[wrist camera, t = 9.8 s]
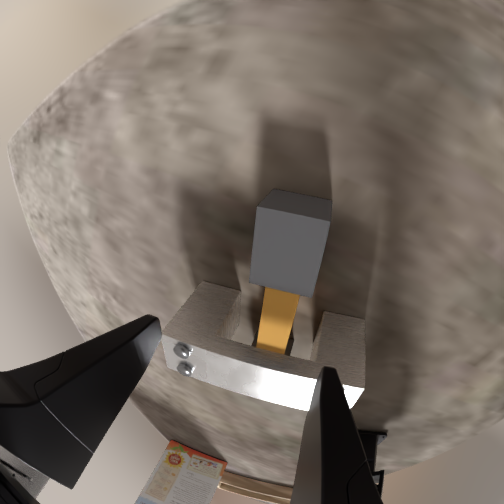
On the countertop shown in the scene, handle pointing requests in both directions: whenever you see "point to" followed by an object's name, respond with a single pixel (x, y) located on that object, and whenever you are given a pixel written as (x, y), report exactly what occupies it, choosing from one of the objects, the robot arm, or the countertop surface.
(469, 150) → the countertop surface
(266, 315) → the plug
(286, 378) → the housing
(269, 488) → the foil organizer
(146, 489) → the cracker box
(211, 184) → the countertop surface
